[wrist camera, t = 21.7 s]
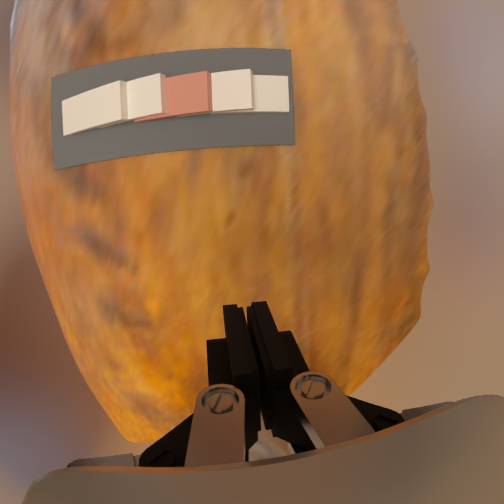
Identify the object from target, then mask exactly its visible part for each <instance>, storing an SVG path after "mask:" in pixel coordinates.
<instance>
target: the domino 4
mask: <svg viewBox="0 0 504 504" xmlns="http://www.w3.org/2000/svg"><path fill="white" fill-rule="evenodd" d="M211 79H212V109H213V112H208V113H217V112H228V111H241V110H254V88H253V71H252V70H251V69H241V70H232V71H223V72H215V73H211ZM208 113H199V114H208ZM199 114H191V115H199ZM191 115H183V116H191ZM183 116H176V117H183Z"/></svg>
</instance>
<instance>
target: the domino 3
mask: <svg viewBox="0 0 504 504" xmlns="http://www.w3.org/2000/svg"><path fill="white" fill-rule="evenodd" d="M166 92H167V111H168V113H166V114H161V115H156V116H151V117H146V118H141V119H136V120H134V122H145V121H151V120H156V119H163V118H169V117H176V116H183V115H191V114H199V113H208V112H213V109H212V79H211V73H210V72H208V71H202V72H196V73H190V74H184V75H178V76H173V77H168V78H166Z"/></svg>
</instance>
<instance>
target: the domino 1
mask: <svg viewBox="0 0 504 504" xmlns="http://www.w3.org/2000/svg"><path fill="white" fill-rule="evenodd" d="M62 117H63V135H64V136H67V135H73V134H76V133H80V132H83V131H86V130H90V129H93V128H97V127H101V126H105V125H108V124H112V123H116V122H120V121H125V120H128V102H127V82H125V81H121V80H119V81H116V82H113V83H109V84H106V85H103V86H100V87H97V88H95V89H92V90H89V91H86V92H84V93H81V94H78V95H76V96H73V97H71V98H68V99H66V100H63V101H62Z"/></svg>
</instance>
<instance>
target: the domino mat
mask: <svg viewBox="0 0 504 504" xmlns="http://www.w3.org/2000/svg"><path fill="white" fill-rule="evenodd" d="M241 69H251V70H252V71H253V75H275V76H288V90H289V112H287V113H226V114H211V113H208V114H199V115H191V116H183V117H169V118H163V119H156V120H151V121H145V122H134V120H132V121H127V122H123V123H119V124H115V125H111V126H107V127H103V128H93V129H90V130H86V131H83V132H80V133H76V134H73V135H67V136H64V135H63V117H62V101H63V100H66V99H68V98H71V97H73V96H76V95H78V94H81V93H84V92H86V91H89V90H92V89H95V88H97V87H100V86H103V85H106V84H109V83H113V82H116V81H119V80H121V81H125V82H127V81H131V80H134V79H138V78H142V77H146V76H150V75H154V74H158V73H161V74H164V75H166V78H168V77H173V76H178V75H184V74H190V73H196V72H202V71H208V72H210V73H215V72H223V71H232V70H241ZM51 124H52V146H53V159H54V170H56V169H61V168H66V167H70V166H75V165H81V164H86V163H91V162H97V161H103V160H109V159H115V158H122V157H129V156H136V155H143V154H151V153H160V152H169V151H178V150H189V149H201V148H215V147H232V146H255V145H295V143H294V111H293V87H292V68H291V51H290V50H286V49H266V48H220V49H200V50H187V51H177V52H167V53H159V54H152V55H145V56H139V57H133V58H127V59H122V60H117V61H112V62H107V63H103V64H99V65H94V66H90V67H86V68H83V69H79V70H75V71H72V72H68V73H65V74H61V75H58V76H55V77H52V86H51Z"/></svg>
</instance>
